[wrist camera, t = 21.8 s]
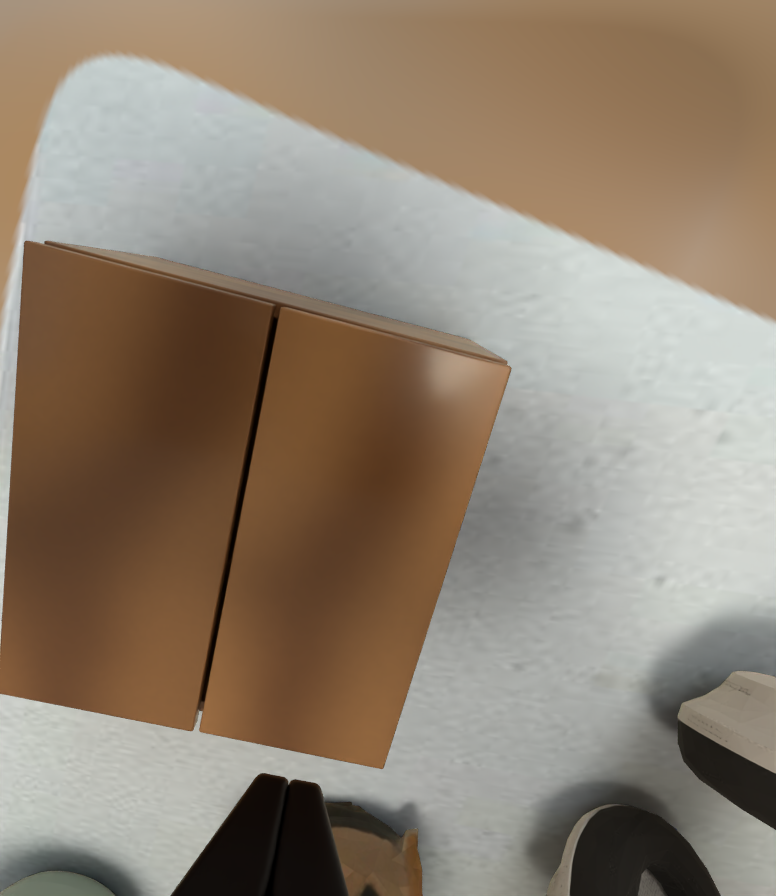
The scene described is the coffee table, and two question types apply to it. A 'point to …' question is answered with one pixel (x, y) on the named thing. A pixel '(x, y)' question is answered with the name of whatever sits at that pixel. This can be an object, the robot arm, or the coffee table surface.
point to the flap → (345, 534)
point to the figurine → (374, 853)
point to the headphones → (648, 835)
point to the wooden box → (135, 472)
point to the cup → (57, 885)
